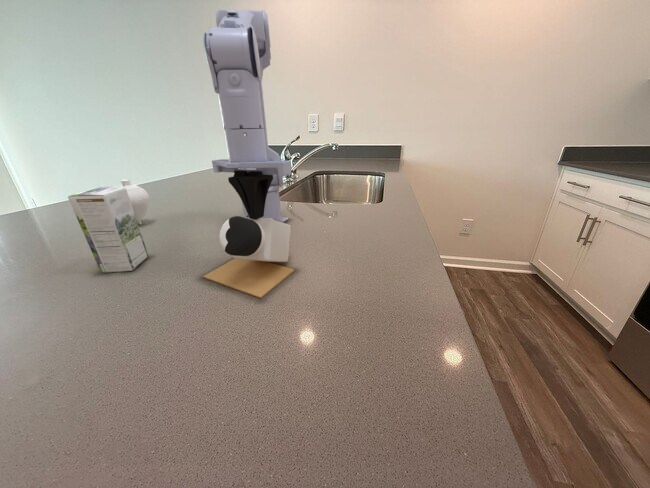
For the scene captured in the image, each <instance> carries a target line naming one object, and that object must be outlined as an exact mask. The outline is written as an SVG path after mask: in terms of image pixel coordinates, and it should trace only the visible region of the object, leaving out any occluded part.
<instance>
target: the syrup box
mask: <svg viewBox="0 0 650 488" xmlns="http://www.w3.org/2000/svg"><path fill="white" fill-rule="evenodd" d="M67 199H68V202H69V203H70V206H71V208H72V211H73V212H74V215H75V217H76V220H77V221H78V224H79V226H80V228H81V231H82V233H83V235H84V237H85V240H86V243H87V244H88V247H89V248H90V251H91V253H92V256H93V258H94V260H95V262H96V265H97V267H98V269H99V271H100V273H104V274H105V273H119V272H120V273H121V272H122V273H123V272H132V271H134V270H135V269H136V268H138V267H139V266H140V265H141V264H142V263H144V262H145V261H146V260H147V259H148V258H149V253H148V250H147V247H146V245H145V241H144V238H143V235H142V232H141V229H140V226H139V222H138V221H137V220H136V217H135V214H134V211H133V208H132V205H131V202H130V199H129V196H128V193H127V190H126V188H123V187H121V186H97V187H92V188H89V189H86V190H83V191H81V192H80V191H79V192H77V193H73V194H70V195H68V196H67Z"/></svg>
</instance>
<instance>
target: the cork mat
mask: <svg viewBox="0 0 650 488" xmlns="http://www.w3.org/2000/svg"><path fill="white" fill-rule="evenodd" d="M294 272H295V269H294V268H291V267H287V266H283V265H280V264H277V263H273V262H270V261H258V260H247V259H236V258H233V259H231V260H229V261H227V262H226V263H224V264H222V265H221V266H219V267H216V268H215V269H214V270H212V271H210V272H208V273H207V274H205V275H203V276H202V277H203V279H206V280H208V281H211V282H214V283H217V284H219V285H222V286H225V287H228V288H230V289H233V290H236V291H238V292H242V293H243V294H248V295H250V296H253V297H255V298H258V299H263V298H264V297H265V296H266V295H268V293H270V292H271V291H272V290H273V289H275V288H276V287H277V286H278V285H279V284H281V283H282V282H283V281H284V280H286V279H287V278H288V277H289V276H290V275H292V274H293V273H294Z"/></svg>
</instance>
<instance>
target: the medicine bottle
mask: <svg viewBox="0 0 650 488" xmlns="http://www.w3.org/2000/svg"><path fill="white" fill-rule="evenodd" d="M291 232H292V225H291V224H290V223H287V222H281V221H278V220H275V219H272V218H259V219H256V220H255V219H250V218H245V217H244V216H239V215H235V216H232V217H230V218H228V219H227V220H226V221H225V222H224V223H223V224H222V226H221V228H220V231H219V237H218V238H219V243H220V247H221V249H222V250H223V251H224V252H225V253H226V254H228V255H229V256H232V257H233V259H235V258H236V259H247V260H258V261H266V262H269V263H273V262H274V263H287V262H289V255H290V243H291Z"/></svg>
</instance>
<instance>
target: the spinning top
mask: <svg viewBox="0 0 650 488" xmlns="http://www.w3.org/2000/svg"><path fill="white" fill-rule="evenodd" d="M120 183H121V186H120V187H123V188H126V190H127V193H128V196H129V199H130V202H131V205H132V208H133V211H134V214H135V217H136V220H137V222H138V224H139V225H142V224H143V223H142V221H143V219H144V217H145V216H146V213H147V211H148V208H149V205H150V200H151V199H150V195H149V193H148V192H147V190H145V189H144V188H142V187H141V186H140V185H135V184H132V182H131V180H130V179H121V180H120Z"/></svg>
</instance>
